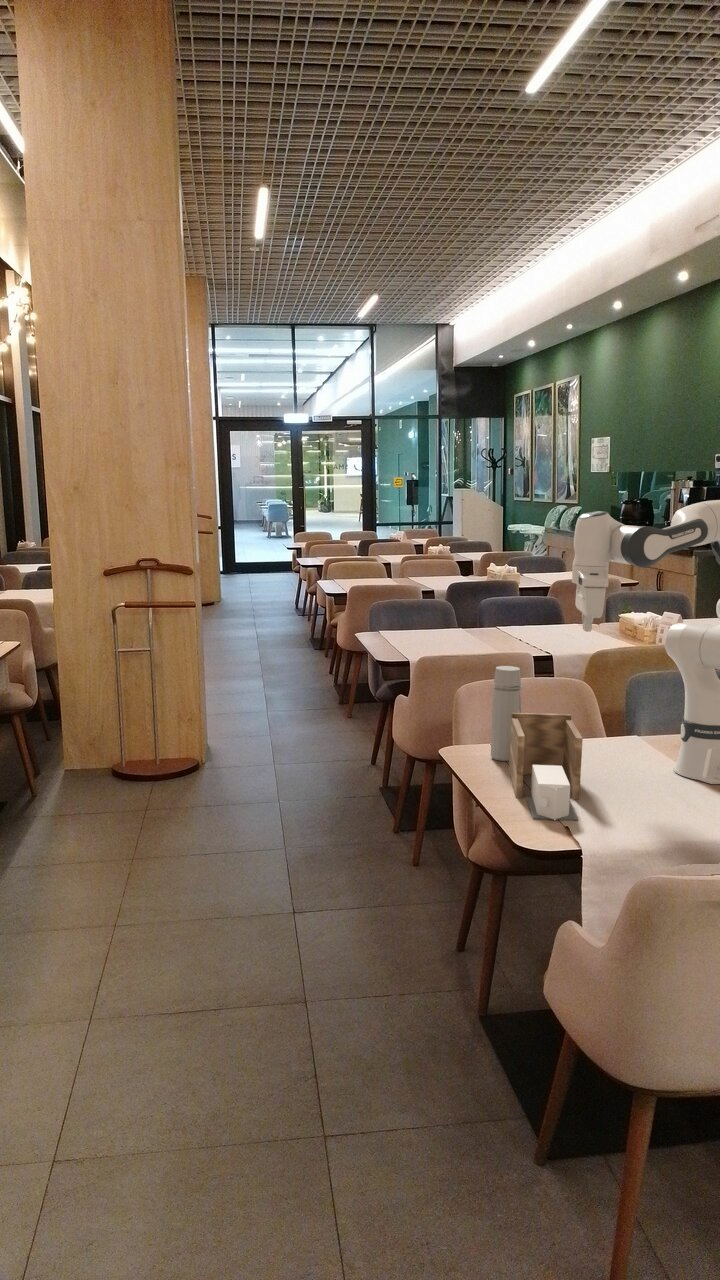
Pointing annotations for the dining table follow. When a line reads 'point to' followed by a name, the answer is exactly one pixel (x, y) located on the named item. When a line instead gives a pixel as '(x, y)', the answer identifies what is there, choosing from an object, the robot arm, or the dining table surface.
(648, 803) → the dining table surface
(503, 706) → the water bottle
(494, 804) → the dining table surface
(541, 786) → the milk carton
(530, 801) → the mat
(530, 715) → the shelf bay
